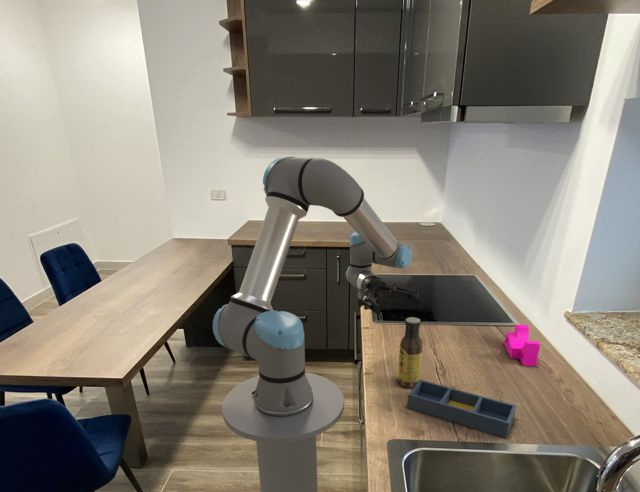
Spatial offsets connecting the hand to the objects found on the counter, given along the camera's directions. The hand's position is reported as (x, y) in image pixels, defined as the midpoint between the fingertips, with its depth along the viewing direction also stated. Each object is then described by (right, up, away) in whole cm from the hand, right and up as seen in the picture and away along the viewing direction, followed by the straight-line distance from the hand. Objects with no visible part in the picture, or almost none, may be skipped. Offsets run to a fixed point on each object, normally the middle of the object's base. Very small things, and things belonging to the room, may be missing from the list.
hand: (400, 307), depth 128 cm
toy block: (+41, -15, +16) cm, 46 cm away
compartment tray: (+13, -28, -15) cm, 34 cm away
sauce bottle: (+2, -22, -1) cm, 22 cm away
